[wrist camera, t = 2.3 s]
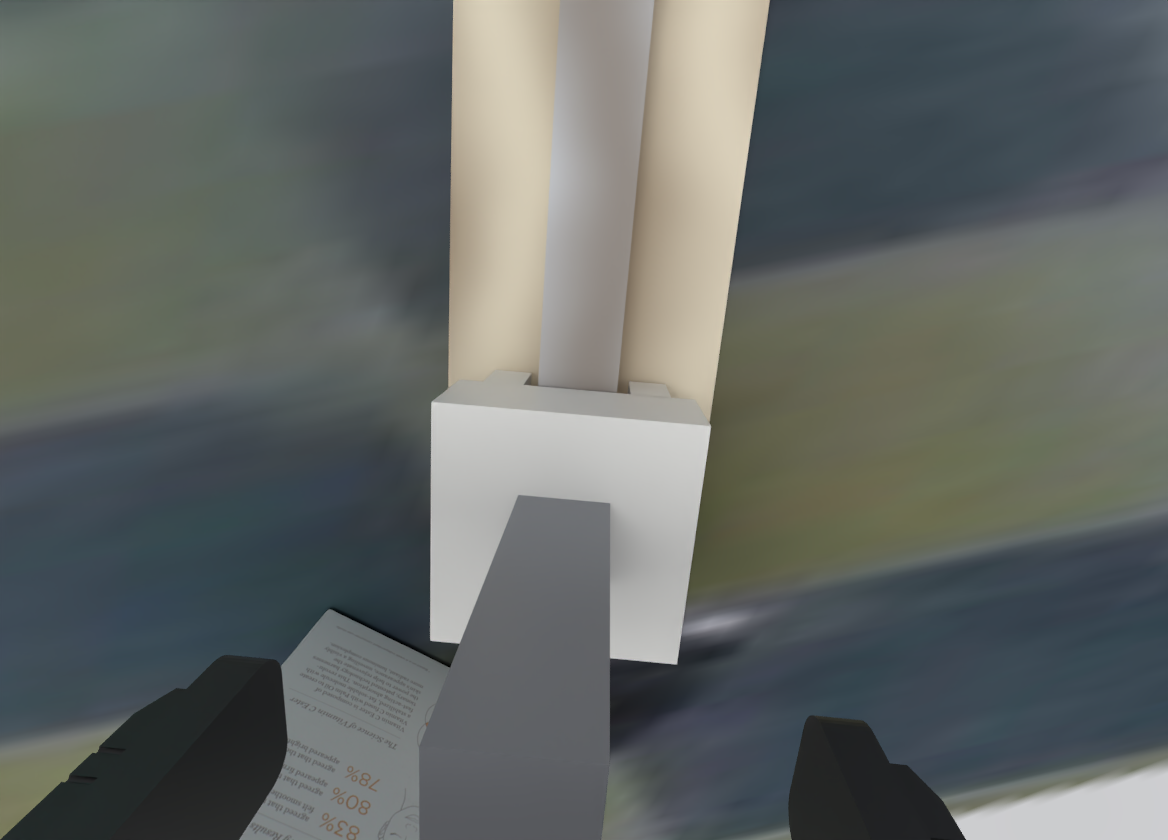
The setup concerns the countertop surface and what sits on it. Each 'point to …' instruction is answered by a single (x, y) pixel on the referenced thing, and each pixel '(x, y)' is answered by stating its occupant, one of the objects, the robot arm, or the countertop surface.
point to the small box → (350, 737)
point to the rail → (666, 191)
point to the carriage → (548, 591)
